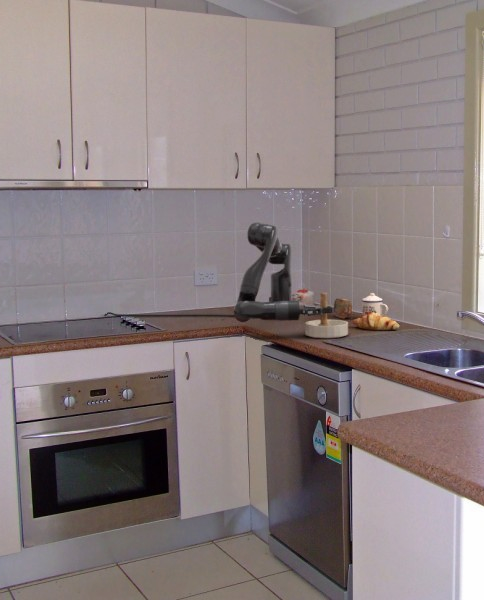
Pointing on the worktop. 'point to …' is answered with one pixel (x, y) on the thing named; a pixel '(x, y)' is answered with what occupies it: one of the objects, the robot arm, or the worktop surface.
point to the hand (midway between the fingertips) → (331, 309)
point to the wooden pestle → (324, 315)
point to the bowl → (326, 329)
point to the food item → (304, 297)
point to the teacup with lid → (373, 305)
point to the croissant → (375, 322)
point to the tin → (342, 308)
